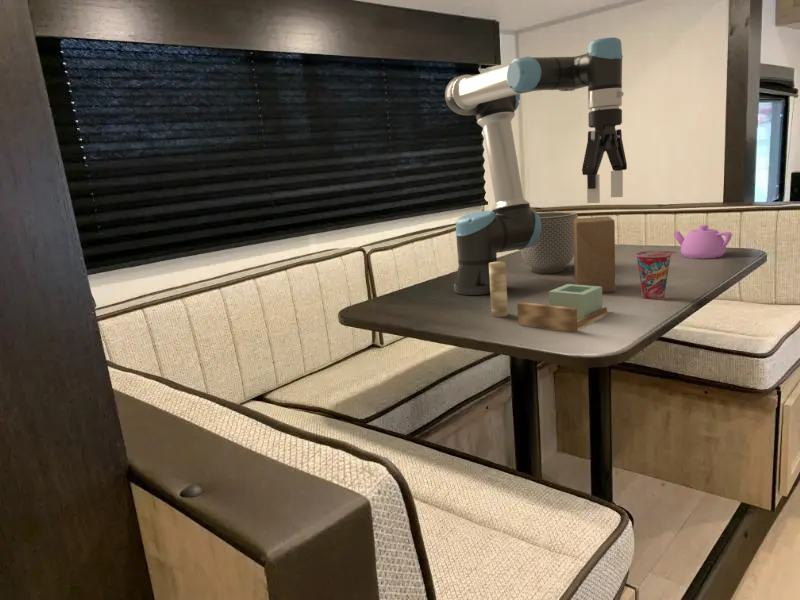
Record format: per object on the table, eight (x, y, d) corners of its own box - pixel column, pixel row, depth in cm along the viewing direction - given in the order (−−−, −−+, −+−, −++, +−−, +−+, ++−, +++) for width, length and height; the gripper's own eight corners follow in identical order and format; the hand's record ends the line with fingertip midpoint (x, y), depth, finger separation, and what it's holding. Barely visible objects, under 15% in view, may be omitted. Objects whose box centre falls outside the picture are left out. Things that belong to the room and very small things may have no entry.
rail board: (518, 328, 137) (517, 303, 136) (560, 309, 150) (559, 286, 149) (574, 336, 128) (573, 309, 126) (613, 315, 141) (613, 291, 139)
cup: (650, 304, 148) (650, 257, 145) (628, 298, 156) (628, 253, 153) (682, 299, 150) (682, 252, 147) (658, 293, 158) (659, 248, 155)
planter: (569, 277, 189) (567, 217, 185) (510, 275, 200) (507, 218, 195) (585, 265, 205) (584, 210, 201) (530, 265, 216) (528, 212, 212)
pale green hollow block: (549, 315, 142) (548, 291, 141) (568, 307, 148) (567, 283, 147) (584, 320, 136) (583, 294, 134) (602, 311, 142) (602, 286, 141)
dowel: (488, 319, 147) (485, 264, 144) (497, 315, 150) (495, 261, 147) (502, 321, 145) (499, 264, 142) (511, 317, 147) (508, 261, 144)
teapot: (683, 251, 216) (684, 222, 214) (740, 255, 200) (742, 223, 198) (662, 257, 209) (662, 226, 206) (719, 261, 193) (720, 228, 190)
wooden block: (615, 292, 164) (614, 219, 159) (577, 294, 166) (576, 222, 161) (610, 284, 173) (609, 216, 169) (574, 286, 175) (573, 218, 171)
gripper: (597, 106, 129) (598, 205, 134) (640, 107, 147) (640, 194, 151) (565, 110, 134) (567, 205, 139) (611, 111, 152) (611, 195, 156)
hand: (605, 200), depth 145 cm, fingers open, 13 cm apart
